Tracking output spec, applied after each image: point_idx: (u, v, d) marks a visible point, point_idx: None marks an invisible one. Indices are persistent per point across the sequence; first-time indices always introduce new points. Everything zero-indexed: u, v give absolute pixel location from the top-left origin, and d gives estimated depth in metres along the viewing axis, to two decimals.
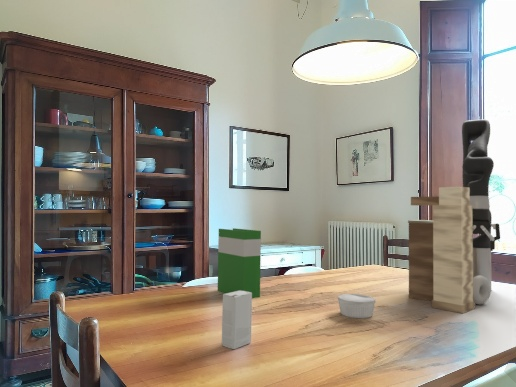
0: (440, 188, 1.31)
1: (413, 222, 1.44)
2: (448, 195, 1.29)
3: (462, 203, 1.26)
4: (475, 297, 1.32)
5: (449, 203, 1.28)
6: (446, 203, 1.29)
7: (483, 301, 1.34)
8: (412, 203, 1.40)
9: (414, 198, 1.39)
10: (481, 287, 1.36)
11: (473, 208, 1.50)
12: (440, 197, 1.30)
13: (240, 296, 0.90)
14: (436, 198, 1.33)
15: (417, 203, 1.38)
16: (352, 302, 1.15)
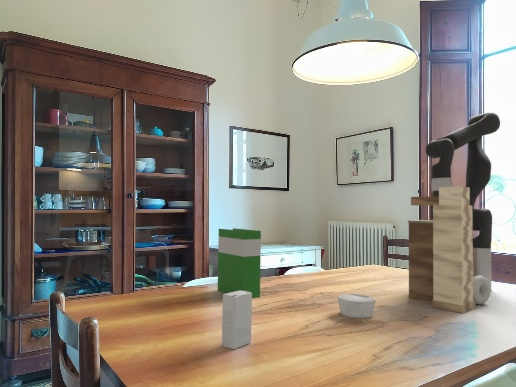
0: (440, 188, 1.31)
1: (413, 222, 1.44)
2: (448, 195, 1.29)
3: (462, 203, 1.26)
4: (475, 297, 1.32)
5: (449, 203, 1.28)
6: (446, 203, 1.29)
7: (483, 301, 1.34)
8: (412, 203, 1.40)
9: (414, 198, 1.39)
10: (481, 287, 1.36)
11: None
12: (440, 197, 1.30)
13: (240, 296, 0.90)
14: (436, 198, 1.33)
15: (417, 203, 1.38)
16: (352, 302, 1.15)
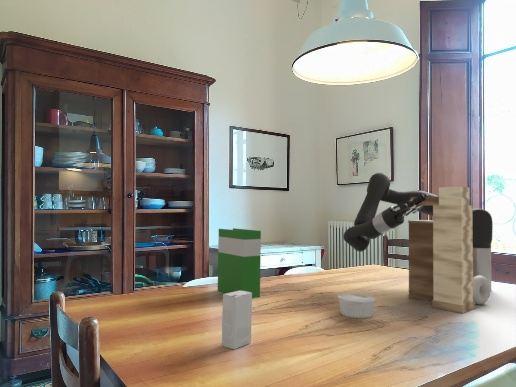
0: (440, 188, 1.31)
1: (413, 222, 1.44)
2: (448, 195, 1.29)
3: (462, 203, 1.26)
4: (475, 297, 1.32)
5: (449, 203, 1.28)
6: (446, 203, 1.29)
7: (483, 301, 1.34)
8: None
9: (414, 198, 1.39)
10: (481, 287, 1.36)
11: None
12: (440, 197, 1.30)
13: (240, 296, 0.90)
14: (436, 198, 1.33)
15: None
16: (352, 302, 1.15)
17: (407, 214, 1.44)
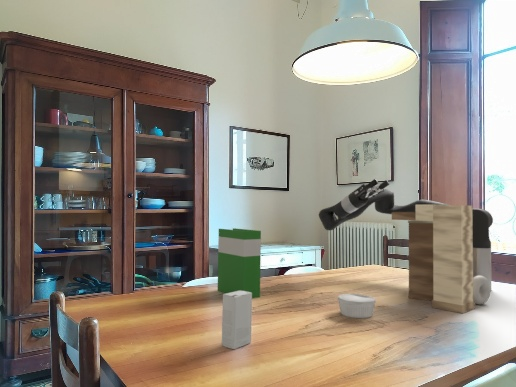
0: (416, 205, 1.47)
1: (413, 222, 1.44)
2: (423, 212, 1.45)
3: None
4: (475, 297, 1.32)
5: (424, 219, 1.45)
6: (421, 219, 1.45)
7: (483, 301, 1.34)
8: (393, 218, 1.56)
9: (394, 213, 1.56)
10: (481, 287, 1.36)
11: (359, 207, 1.72)
12: (416, 213, 1.47)
13: (240, 296, 0.90)
14: (413, 213, 1.50)
15: (397, 218, 1.55)
16: (352, 302, 1.15)
17: (369, 195, 1.67)
